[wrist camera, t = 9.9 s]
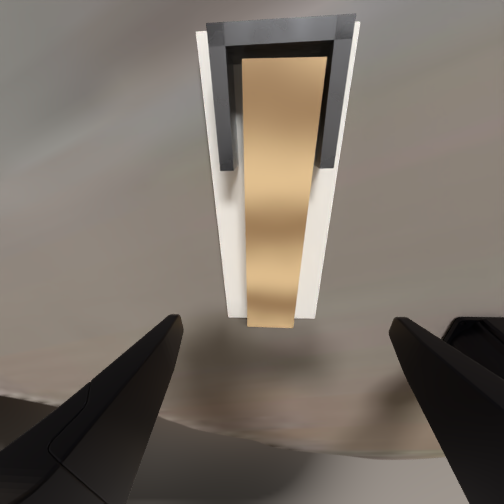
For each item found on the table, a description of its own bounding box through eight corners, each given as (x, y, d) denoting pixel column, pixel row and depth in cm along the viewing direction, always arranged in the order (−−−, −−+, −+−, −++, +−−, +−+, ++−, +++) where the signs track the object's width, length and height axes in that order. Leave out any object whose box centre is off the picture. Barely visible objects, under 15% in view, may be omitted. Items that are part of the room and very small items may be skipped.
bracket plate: (312, 310, 23) (321, 343, 19) (229, 309, 24) (223, 341, 20) (352, 31, 13) (389, -12, 9) (201, 40, 13) (176, 2, 9)
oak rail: (289, 304, 21) (293, 328, 19) (249, 302, 21) (247, 326, 19) (313, 73, 13) (327, 57, 10) (246, 74, 13) (241, 58, 10)
